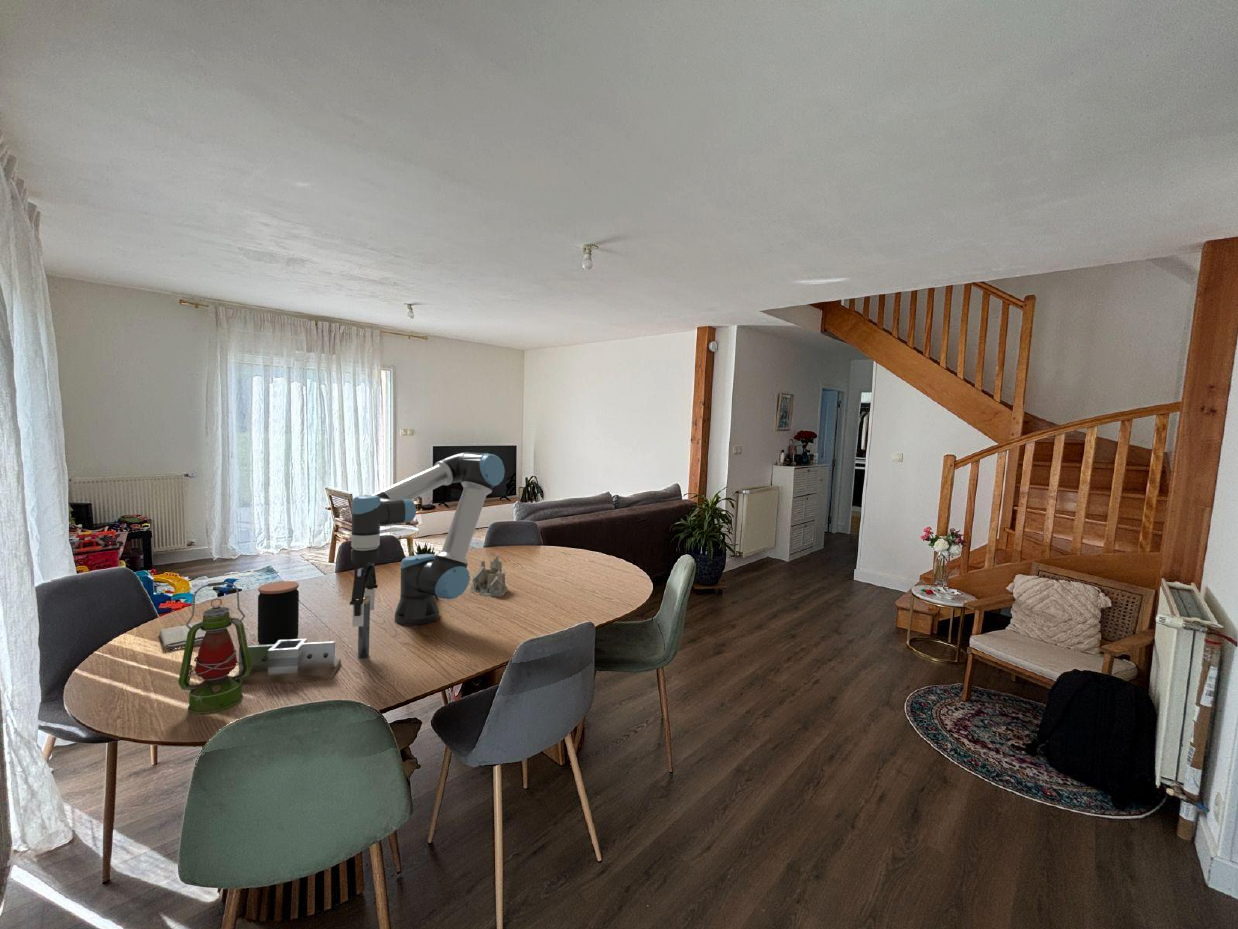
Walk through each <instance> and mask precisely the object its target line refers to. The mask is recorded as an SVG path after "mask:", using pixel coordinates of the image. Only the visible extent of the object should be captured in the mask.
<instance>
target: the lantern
mask: <svg viewBox="0 0 1238 929" xmlns="http://www.w3.org/2000/svg"><path fill="white" fill-rule="evenodd" d="M225 585H228V586H232V587H233V588H234V589H235V591H236V600H237V601H236V602H237V611H238V612H239V613H240V615H242V617H241V619H240V618H238V617H231V616H230V610H231V609H230V608H229V607H228V606H227V607H225V606H221V605H222V603H223V600H222V599H221V598H216V599H212V600H211V602H210V606H211V608H209V609H206V610H204V611H203V612H202V615H203V616H202V622H201V621H199V622H200V623H198V624H195V625H193V626H192V627H190V626H188V624H190V623H191V622H192V619H193V618H194V616H195V605H196V596H197V594H198V592H200V590H202V589H203V588H206V587H208V588H209V587H217V586H218V587H219V586H225ZM213 601H220V603H219V604H218V605H216V606H215V605H214V604H213ZM240 606H241V605H240V593H239V588H238V586H236V585H235V584H233V583H231V582H225V581H220V582H218V581H217V582H209V583H207V584H205V585H202V586H200V587H198V589H197V590H196V591H195V592H194V594H193V596H192V608H191V609H192V611H191V615H190V618H189V619H188V621H187V622H186V624H185V625H186V626H187V627H188V628H189V629H190V630H189V631H188V634H187V639H186V644H185V648H183V649H184V650H183V656H182V661H181V664H180V665H181V666H180V671H179V677H178V684H179V687H180V689H181V690H182V691H189V694H188V696H189V697H188V698H189V699H188V704H189V705H188V707H187V712H188V714H189V715H193V716H209V715H215V714H219V713H223V712H225V711H228V710H230V709H233V708H234V707H236V706H238V705H239V704H240V703H241V702H243V699H244V694H243V693H242V692H243V691H242V690H243V685H242V680H241V679H242V678H244V677H246V676H248V675H249V672H250V670H251V662H250V656H249V651H248V646H249V645H248V640H247V635H246V630H245V625H244V622H243V620H244V619H245V617H246V615H245V613H244V612H243V610H242V609H241V608H240ZM232 624H233V625H234V626H235V630H236V635H237V641H238V646H239V647H240V652H241V657H242V663H239V661H238V659H237V650H235V645H234V641H233V639H232V636H231V635H230V632H229V631H228V628H229V627H230V626H232ZM200 628H201V630H203V631H206V633H205V635H204V638H203V640H202V643H201V645H199V648H198V652H197V656H196V657H194V659H193V661H194V662H195V667H194V669H193V664H191V663H192V658H193V653H194V652H193V651H194V647H195V646H194V642H195V636H196V632H197V631H198V630H199V629H200ZM239 647H238V648H239ZM239 664H240V665H243V668H244V669H243V671H242V674H239V675H237V676H234V675H233V676H234V677H233V676H232V675H230V673H231V672H232V671H233V670H235V669H236V666H239ZM194 671H195V673H193V672H194ZM192 676H197V677H200V678H202V680H203V681H201V682H200V683H197V684H193V683H192V684H190V681H191V677H192Z"/></svg>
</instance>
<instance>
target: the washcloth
mask: <svg viewBox="0 0 1238 929" xmlns="http://www.w3.org/2000/svg"><path fill="white" fill-rule="evenodd" d="M202 621H203V620H202ZM202 621H198V622H192V623H191V622H190V623H189V624H188V626H190V627H192V626H193V625H195V624H198V623H200V622H202ZM189 630H190V629H189V628H188V627H187V626H186V624H184V625H178V626H172V627H168V628H162V629H160V630H159V633H158V634H159V637H160V639H161V643H162V642H163V643H162V645H163V649H164V651H165V650H169V651H171V650H170V649H175V648H179V647H185V644H186V639H187V634H188V631H189ZM205 633H206V631H203V630H201V628H200V629H199V630H198V631H197V632H196V636H195V642H194V647H196V646H201V645H200V644H201V643H202V640H203V638H204V635H205ZM195 645H196V646H195ZM164 647H165V648H164Z"/></svg>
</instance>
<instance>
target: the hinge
mask: <svg viewBox="0 0 1238 929" xmlns="http://www.w3.org/2000/svg"><path fill="white" fill-rule="evenodd" d="M247 646H248V651H249V656H250V662H251V670H250V672H265V671H268V676H278V675H293V674H298V673H299V672H300V670H301V669H311V668H327V667H334V666H335V659H336V640H333V641H332V640H331V641H314V642H308V638H297V639H289V640H278V641H277V642H276V643H275V644H272V645H260V644H255V645H247ZM238 662H239V663H242V657H241V652H240V647H238ZM243 669H244V668H243V665H240V664H239V665H238V672H239V673H242V671H243Z"/></svg>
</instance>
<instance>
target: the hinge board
mask: <svg viewBox="0 0 1238 929" xmlns="http://www.w3.org/2000/svg"><path fill="white" fill-rule="evenodd" d="M341 665H342V659H341V658H337V659H336V658H335V666H334V667H327V668H311V669H301V670H300V672H299V673H298V674H293V675H278V676H268V671H265V672H249V675H248V676H246V677H244V678H242V679H241V680H242V686H249V685H261V684H262V685H263V684H265V685H266V684H276V683H277V684H278V683H293V682H306V681H319V680H320V681H321V680H332V678H333V677H334V675H335V674H336V673H337V671H338V669H339V668H340V666H341ZM239 674H242V673H239V671H237V672H236V673H235V674H234V675H233V676H232V677H234V676H237V675H239Z"/></svg>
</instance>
